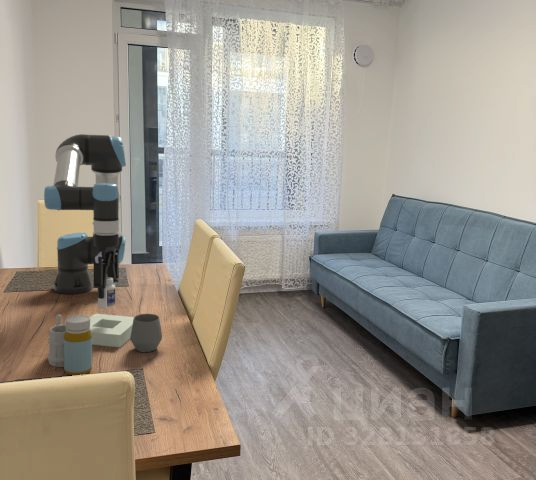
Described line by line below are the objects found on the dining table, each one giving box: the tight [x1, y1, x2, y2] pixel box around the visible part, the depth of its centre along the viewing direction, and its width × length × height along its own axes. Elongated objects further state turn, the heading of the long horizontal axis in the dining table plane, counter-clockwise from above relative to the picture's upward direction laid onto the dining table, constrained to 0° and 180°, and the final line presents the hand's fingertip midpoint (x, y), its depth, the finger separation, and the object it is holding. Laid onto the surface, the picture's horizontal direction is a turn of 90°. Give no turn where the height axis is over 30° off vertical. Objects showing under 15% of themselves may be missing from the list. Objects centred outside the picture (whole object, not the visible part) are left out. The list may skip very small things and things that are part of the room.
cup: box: [129, 313, 163, 353], centre depth 152 cm, size 10×9×10 cm
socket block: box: [89, 313, 135, 348], centre depth 162 cm, size 16×16×4 cm
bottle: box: [63, 314, 93, 376], centre depth 135 cm, size 7×7×15 cm
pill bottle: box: [105, 277, 116, 309], centre depth 159 cm, size 5×5×9 cm
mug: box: [47, 313, 66, 368], centre depth 142 cm, size 8×12×12 cm, turn 29°
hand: (106, 304), depth 160 cm, fingers closed on pill bottle, 5 cm apart
